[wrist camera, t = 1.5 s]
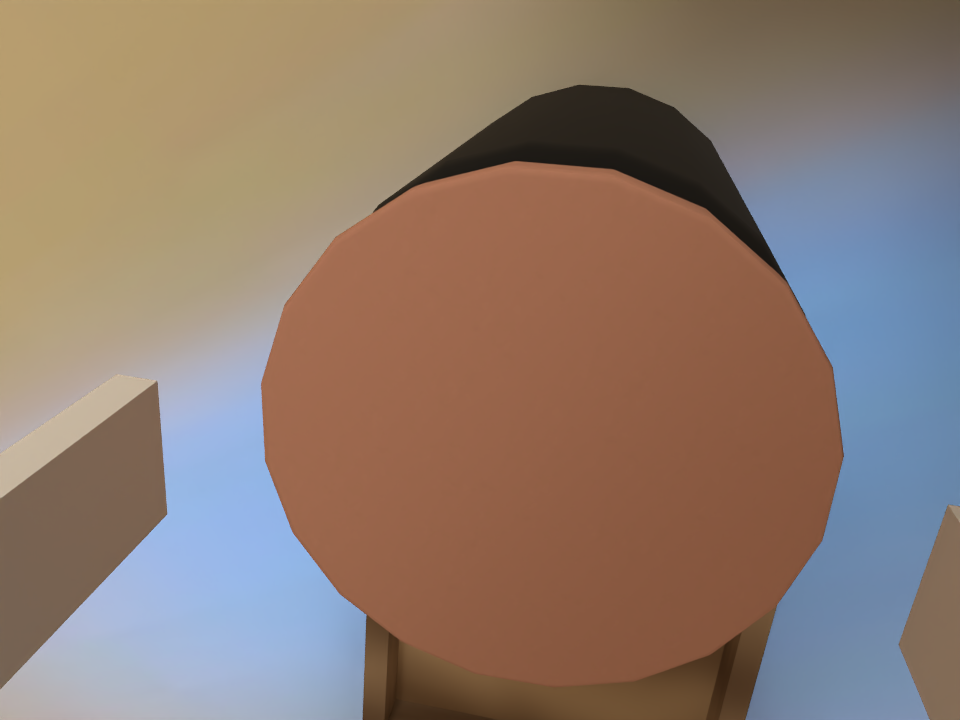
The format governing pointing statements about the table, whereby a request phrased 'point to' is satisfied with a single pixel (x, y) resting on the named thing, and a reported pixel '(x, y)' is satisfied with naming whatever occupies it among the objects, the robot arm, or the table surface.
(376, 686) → the brown shallow square tray
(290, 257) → the table surface
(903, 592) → the table surface
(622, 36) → the table surface
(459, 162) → the coffee jar
